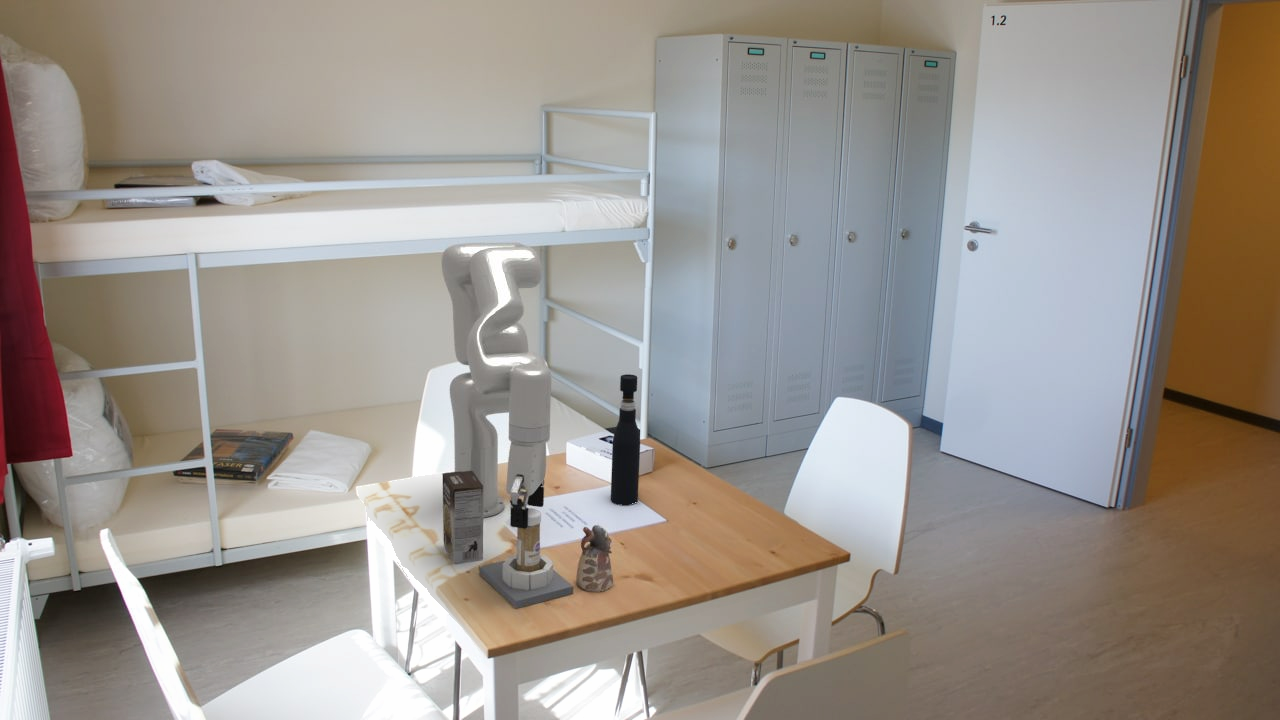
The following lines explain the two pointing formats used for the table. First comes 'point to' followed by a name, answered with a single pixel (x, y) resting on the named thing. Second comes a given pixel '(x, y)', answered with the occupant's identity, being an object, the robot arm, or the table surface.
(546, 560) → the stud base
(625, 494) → the wine bottle
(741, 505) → the table surface
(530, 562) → the sprinkles bottle
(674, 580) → the table surface
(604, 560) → the figurine
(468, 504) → the coffee box
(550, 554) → the table surface
